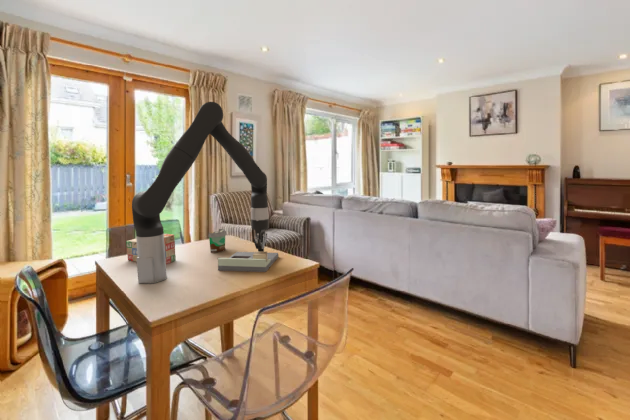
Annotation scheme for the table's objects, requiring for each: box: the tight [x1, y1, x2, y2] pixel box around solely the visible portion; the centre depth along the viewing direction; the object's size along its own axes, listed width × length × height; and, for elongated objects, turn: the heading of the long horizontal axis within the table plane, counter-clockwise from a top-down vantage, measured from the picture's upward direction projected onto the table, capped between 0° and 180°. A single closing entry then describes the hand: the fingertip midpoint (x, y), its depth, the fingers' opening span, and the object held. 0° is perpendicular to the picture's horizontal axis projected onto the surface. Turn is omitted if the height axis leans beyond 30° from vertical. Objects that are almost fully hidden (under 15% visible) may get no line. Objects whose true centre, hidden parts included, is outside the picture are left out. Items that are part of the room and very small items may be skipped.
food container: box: [208, 228, 228, 254], centre depth 166 cm, size 12×6×10 cm, turn 171°
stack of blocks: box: [125, 233, 177, 265], centre depth 149 cm, size 21×6×12 cm, turn 74°
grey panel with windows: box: [217, 251, 279, 273], centre depth 144 cm, size 22×20×5 cm
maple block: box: [253, 250, 268, 262], centre depth 139 cm, size 5×5×4 cm
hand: (261, 257), depth 144 cm, fingers closed
